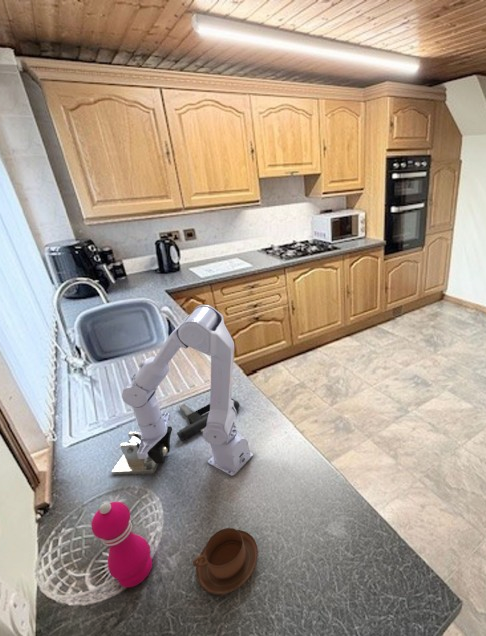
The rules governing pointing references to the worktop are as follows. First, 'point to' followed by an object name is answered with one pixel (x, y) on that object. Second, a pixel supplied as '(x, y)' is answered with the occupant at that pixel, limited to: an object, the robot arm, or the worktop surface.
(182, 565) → the worktop surface
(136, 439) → the lever
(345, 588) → the worktop surface
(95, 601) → the worktop surface
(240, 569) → the cup and saucer
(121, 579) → the pepper mill
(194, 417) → the door handle
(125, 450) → the bracket
